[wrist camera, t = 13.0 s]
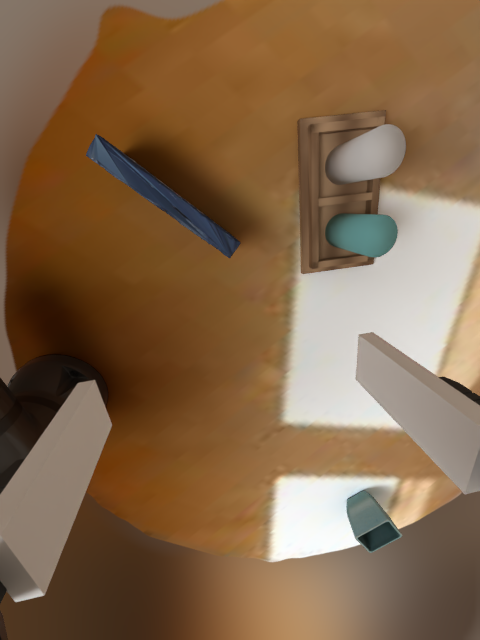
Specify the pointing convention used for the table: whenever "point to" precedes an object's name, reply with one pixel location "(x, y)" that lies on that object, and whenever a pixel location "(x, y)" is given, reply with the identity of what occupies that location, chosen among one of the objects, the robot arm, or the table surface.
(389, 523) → the flower pot
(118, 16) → the table surface
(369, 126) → the rack
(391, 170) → the white cylinder
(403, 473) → the table surface
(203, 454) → the table surface
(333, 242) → the teal rounded cylinder
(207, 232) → the vhs cassette tape
